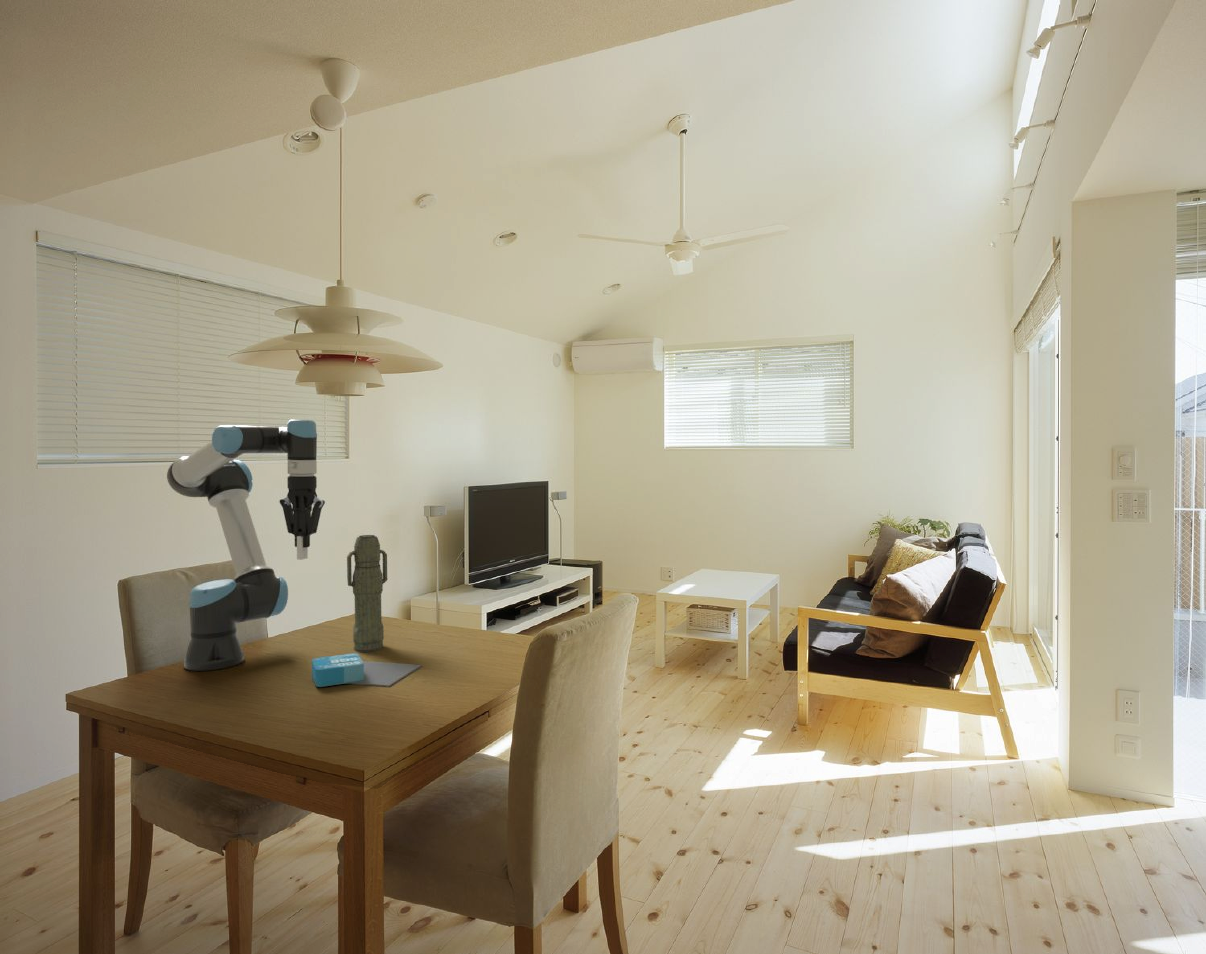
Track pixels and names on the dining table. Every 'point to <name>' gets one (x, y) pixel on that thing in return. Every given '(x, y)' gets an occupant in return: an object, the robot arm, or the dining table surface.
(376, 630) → the thermos
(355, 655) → the blue flat block
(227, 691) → the dining table surface
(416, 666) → the mat
